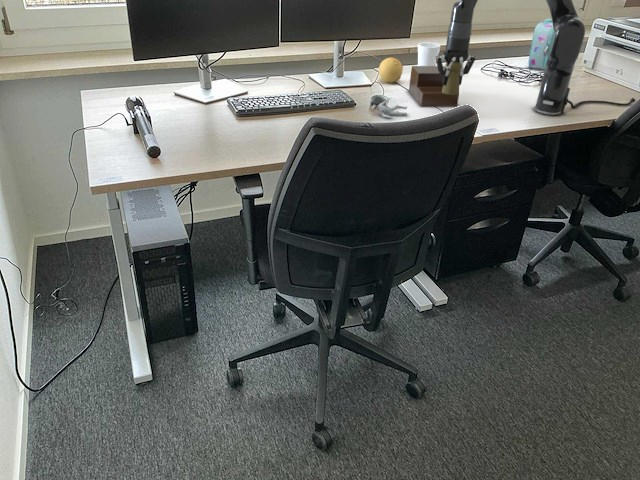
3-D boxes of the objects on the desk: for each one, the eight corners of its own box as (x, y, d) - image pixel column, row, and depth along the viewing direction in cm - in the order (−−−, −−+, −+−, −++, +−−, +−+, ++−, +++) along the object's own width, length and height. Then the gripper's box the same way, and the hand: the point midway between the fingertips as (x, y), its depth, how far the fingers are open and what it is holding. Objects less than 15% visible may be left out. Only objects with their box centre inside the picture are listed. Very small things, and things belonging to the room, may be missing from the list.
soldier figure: (407, 121, 191) (377, 112, 187) (399, 126, 196) (370, 118, 191) (408, 101, 193) (378, 92, 189) (400, 107, 198) (371, 98, 193)
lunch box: (546, 73, 246) (559, 24, 234) (523, 69, 250) (535, 20, 238) (560, 61, 265) (572, 15, 253) (538, 58, 269) (550, 12, 257)
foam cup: (420, 71, 242) (424, 41, 235) (439, 75, 238) (444, 44, 231) (410, 75, 236) (414, 44, 229) (429, 80, 231) (434, 48, 224)
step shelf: (456, 106, 204) (461, 79, 199) (420, 106, 202) (424, 79, 197) (442, 91, 219) (446, 66, 213) (408, 91, 217) (411, 66, 212)
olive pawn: (461, 91, 193) (466, 60, 187) (455, 95, 188) (460, 63, 182) (445, 88, 195) (450, 57, 189) (439, 92, 191) (443, 60, 185)
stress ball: (390, 86, 221) (392, 62, 216) (372, 81, 227) (374, 56, 222) (406, 82, 227) (409, 58, 221) (388, 77, 233) (391, 53, 227)
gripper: (475, 32, 185) (466, 82, 195) (435, 32, 184) (428, 83, 193) (483, 37, 179) (474, 89, 188) (442, 37, 177) (435, 89, 187)
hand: (451, 85), depth 191 cm, fingers closed on olive pawn, 3 cm apart
